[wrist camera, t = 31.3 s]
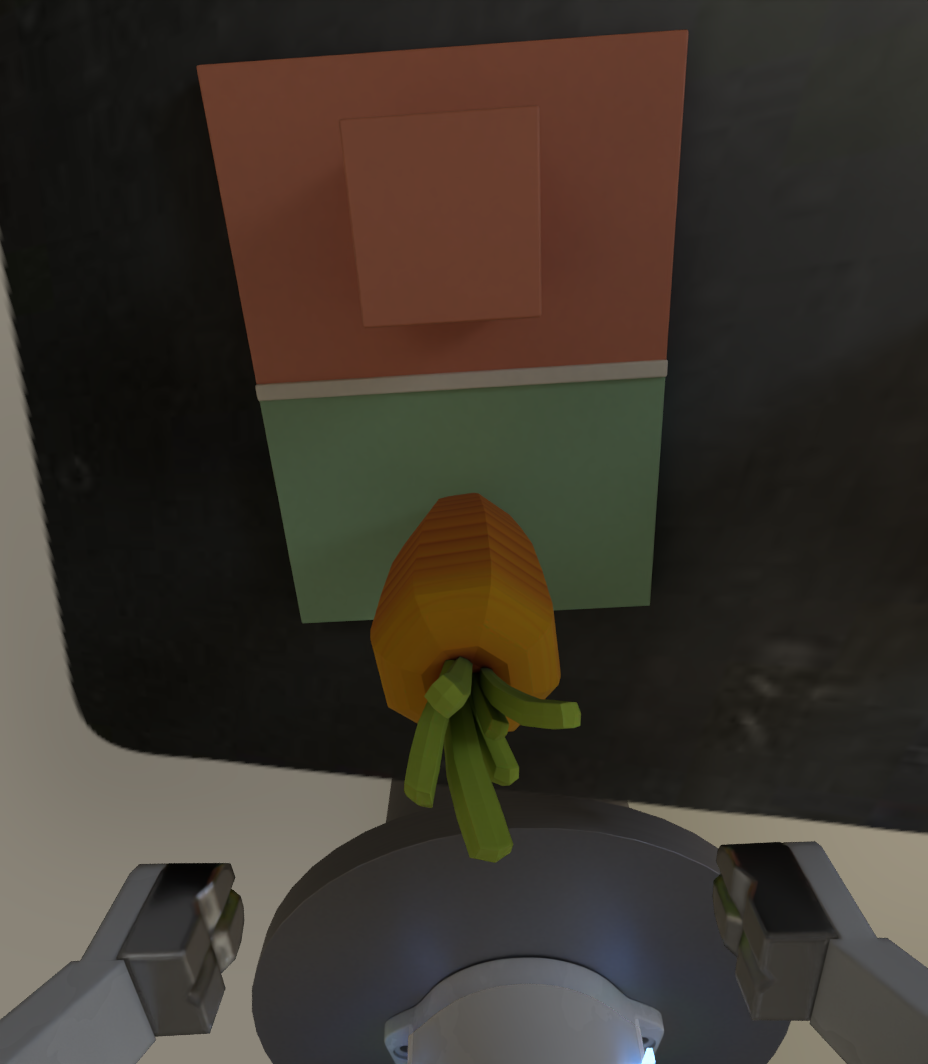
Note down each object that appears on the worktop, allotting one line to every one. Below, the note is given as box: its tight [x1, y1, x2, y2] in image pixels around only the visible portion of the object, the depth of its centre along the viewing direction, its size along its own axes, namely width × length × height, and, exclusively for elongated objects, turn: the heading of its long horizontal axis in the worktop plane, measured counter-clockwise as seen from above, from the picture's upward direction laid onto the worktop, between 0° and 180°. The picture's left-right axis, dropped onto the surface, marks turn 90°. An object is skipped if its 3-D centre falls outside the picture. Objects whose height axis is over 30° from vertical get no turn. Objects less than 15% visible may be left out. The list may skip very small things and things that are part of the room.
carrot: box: [370, 493, 581, 863], centre depth 18 cm, size 5×5×15 cm
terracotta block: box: [339, 105, 542, 328], centre depth 19 cm, size 5×5×5 cm
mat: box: [197, 30, 688, 623], centre depth 24 cm, size 20×15×1 cm
